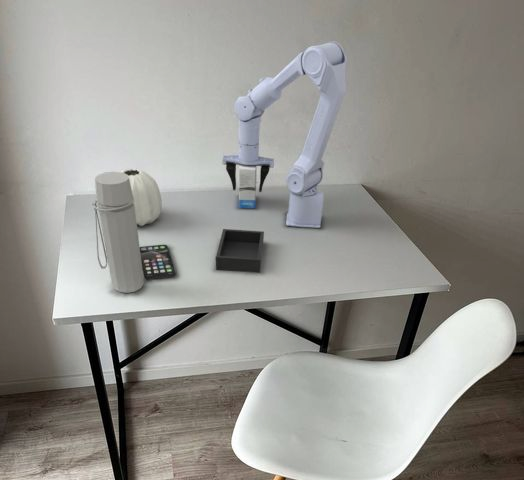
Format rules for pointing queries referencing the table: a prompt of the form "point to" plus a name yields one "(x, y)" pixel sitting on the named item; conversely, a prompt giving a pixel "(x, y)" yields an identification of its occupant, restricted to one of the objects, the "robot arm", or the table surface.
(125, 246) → the water bottle
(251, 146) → the robot arm
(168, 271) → the smartphone
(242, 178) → the ink box
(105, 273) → the table surface
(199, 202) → the table surface
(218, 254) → the tray
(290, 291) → the table surface
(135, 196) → the vase
